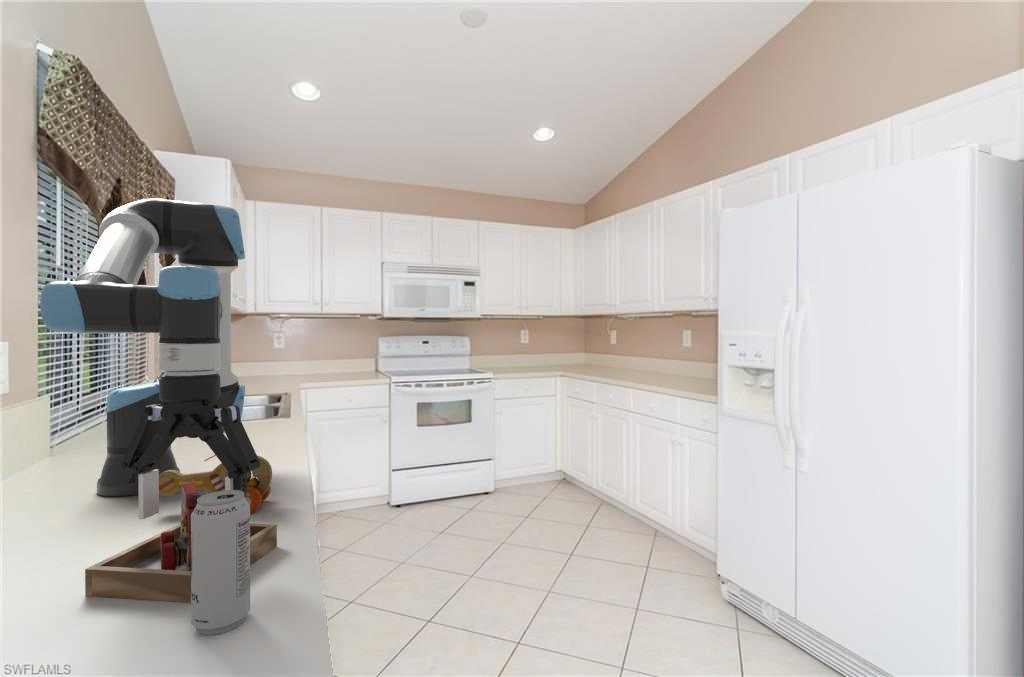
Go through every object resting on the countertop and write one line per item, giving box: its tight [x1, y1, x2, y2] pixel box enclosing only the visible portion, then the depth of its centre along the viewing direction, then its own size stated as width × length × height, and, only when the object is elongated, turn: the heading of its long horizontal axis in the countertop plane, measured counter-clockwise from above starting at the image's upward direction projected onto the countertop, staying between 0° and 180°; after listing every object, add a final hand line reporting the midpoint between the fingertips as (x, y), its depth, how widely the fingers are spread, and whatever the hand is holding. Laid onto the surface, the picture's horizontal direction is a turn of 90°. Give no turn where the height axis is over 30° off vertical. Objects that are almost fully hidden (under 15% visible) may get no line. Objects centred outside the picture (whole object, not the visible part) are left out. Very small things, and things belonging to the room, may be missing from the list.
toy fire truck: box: [160, 483, 202, 570], centre depth 71 cm, size 7×12×10 cm, turn 37°
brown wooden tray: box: [84, 522, 278, 604], centre depth 71 cm, size 17×16×4 cm
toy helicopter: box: [159, 454, 273, 514], centre depth 96 cm, size 8×21×14 cm, turn 102°
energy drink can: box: [190, 490, 251, 636], centre depth 58 cm, size 6×6×15 cm
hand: (191, 518), depth 71 cm, fingers open, 13 cm apart
